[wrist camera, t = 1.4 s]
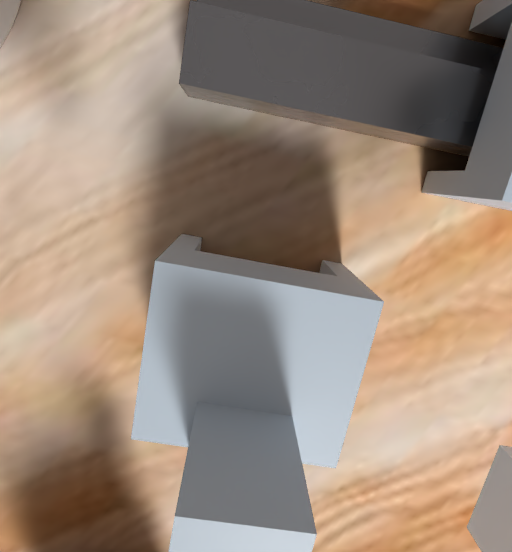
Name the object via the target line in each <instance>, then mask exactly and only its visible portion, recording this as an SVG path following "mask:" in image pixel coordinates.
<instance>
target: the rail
mask: <svg viewBox="0 0 512 552" xmlns="http://www.w3.org/2000/svg"><path fill="white" fill-rule="evenodd" d="M502 51H503V48H502V47H498V46H493V45H489V44H485V43H481V42H477V41H473V40H468V39H464V38H460V37H456V36H452V35H448V34H443V33H439V32H435V31H431V30H427V29H423V28H419V27H414V26H410V25H406V24H402V23H398V22H394V21H389V20H385V19H381V18H377V17H373V16H369V15H365V14H360V13H356V12H352V11H348V10H344V9H340V8H335V7H331V6H327V5H323V4H319V3H315V2H311V1H306V0H197V2H196V1H192V0H190V5H189V13H188V20H187V28H186V35H185V43H184V50H183V57H182V65H181V72H180V80H179V84H180V85H181V87H182V88H183V90H184V91H185V93H186V94H187V95H188V96H189V97H193V98H198V99H203V100H207V101H212V102H217V103H221V104H226V105H231V106H235V107H240V108H245V109H249V110H254V111H259V112H263V113H268V114H272V115H277V116H282V117H286V118H291V119H296V120H300V121H305V122H310V123H314V124H319V125H324V126H328V127H333V128H338V129H342V130H347V131H352V132H356V133H361V134H366V135H370V136H375V137H380V138H384V139H389V140H394V141H398V142H403V143H407V144H412V145H417V146H421V147H426V148H431V149H435V150H440V151H445V152H449V153H454V154H459V155H463V156H468V157H469V156H470V153H471V150H472V147H473V143H474V140H475V137H476V134H477V131H478V128H479V124H480V121H481V118H482V115H483V112H484V108H485V105H486V102H487V99H488V96H489V93H490V89H491V86H492V83H493V80H494V77H495V73H496V70H497V67H498V64H499V61H500V58H501V54H502Z"/></svg>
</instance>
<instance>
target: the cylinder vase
mask: <svg viewBox="0 0 512 552" xmlns="http://www.w3.org/2000/svg"><path fill="white" fill-rule="evenodd" d="M20 3H21V0H0V47H1V46H2V44H3V43H4V41H5V39H6V38H7V36H8V34H9V32H10V30H11V28H12V26H13V23H14V21H15V18H16V16H17V13H18V10H19V6H20Z"/></svg>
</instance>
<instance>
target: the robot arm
mask: <svg viewBox="0 0 512 552" xmlns="http://www.w3.org/2000/svg"><path fill="white" fill-rule="evenodd" d="M467 529H468V530H469V532H470V533H471V535H472V537H473V538H474V540H475V542H476V543H477V545H478V546H479V548H480V550H481V551H482V552H512V447H509V446H503V445H500V446H499V448H498V451H497V453H496V456H495V458H494V461H493V463H492V466H491V468H490V471H489V473H488V476H487V478H486V481H485V483H484V486H483V488H482V491H481V493H480V496H479V498H478V501H477V503H476V506H475V508H474V510H473V513H472V515H471V518H470V520H469V523H468V525H467Z"/></svg>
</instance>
